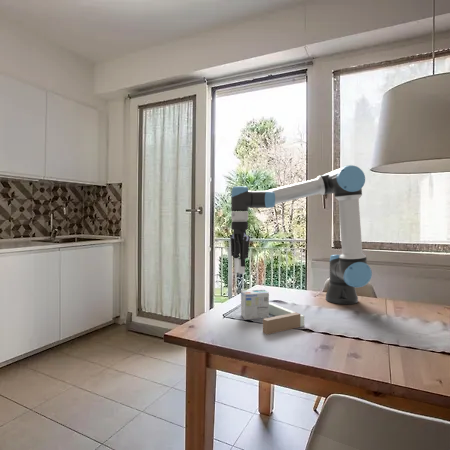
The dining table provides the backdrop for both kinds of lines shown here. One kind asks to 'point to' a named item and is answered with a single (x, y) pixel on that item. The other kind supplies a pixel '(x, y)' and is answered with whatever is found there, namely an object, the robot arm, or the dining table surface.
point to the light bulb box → (254, 304)
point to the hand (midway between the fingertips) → (239, 272)
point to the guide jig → (281, 320)
